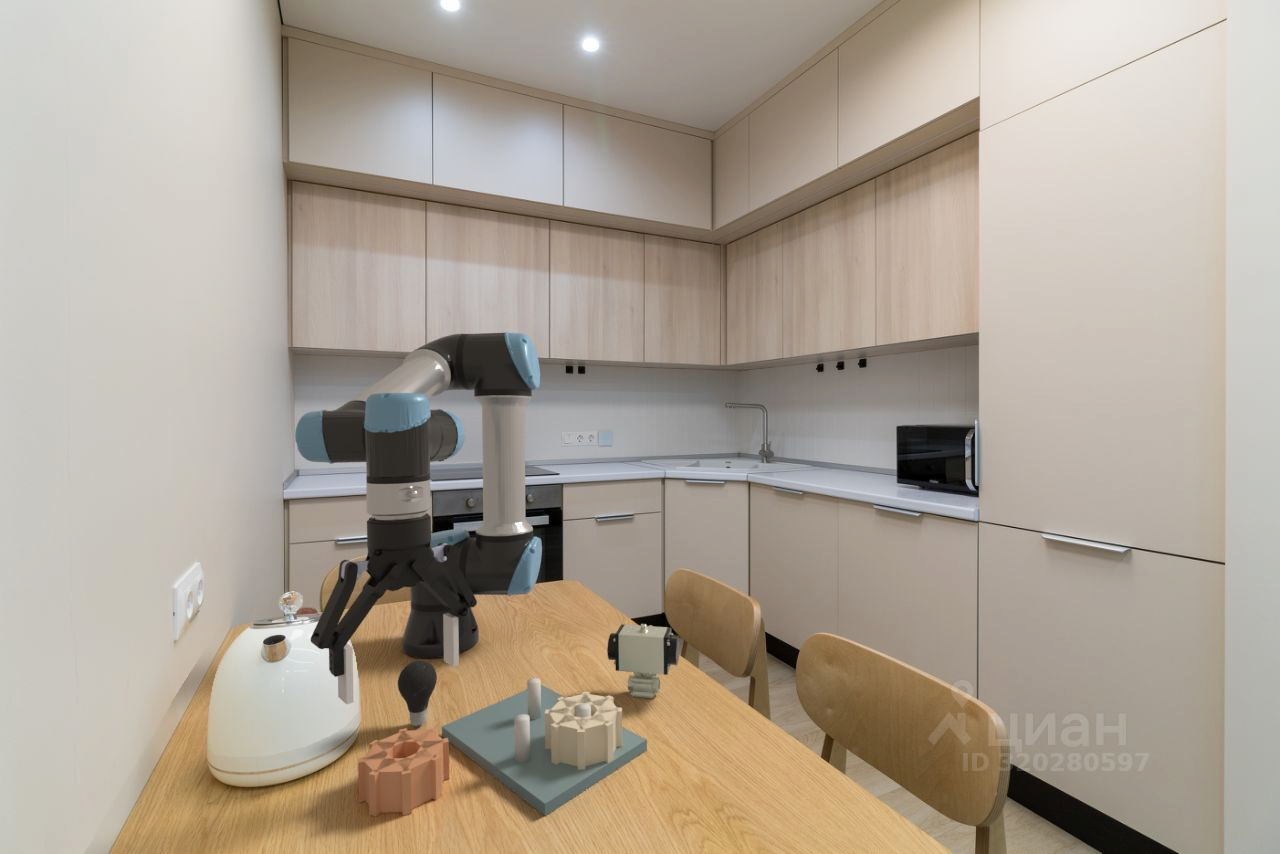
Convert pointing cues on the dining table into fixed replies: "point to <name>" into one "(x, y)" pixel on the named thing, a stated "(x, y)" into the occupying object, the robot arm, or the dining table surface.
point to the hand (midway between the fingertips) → (402, 680)
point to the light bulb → (417, 689)
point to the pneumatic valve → (643, 656)
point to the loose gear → (403, 771)
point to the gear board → (547, 743)
